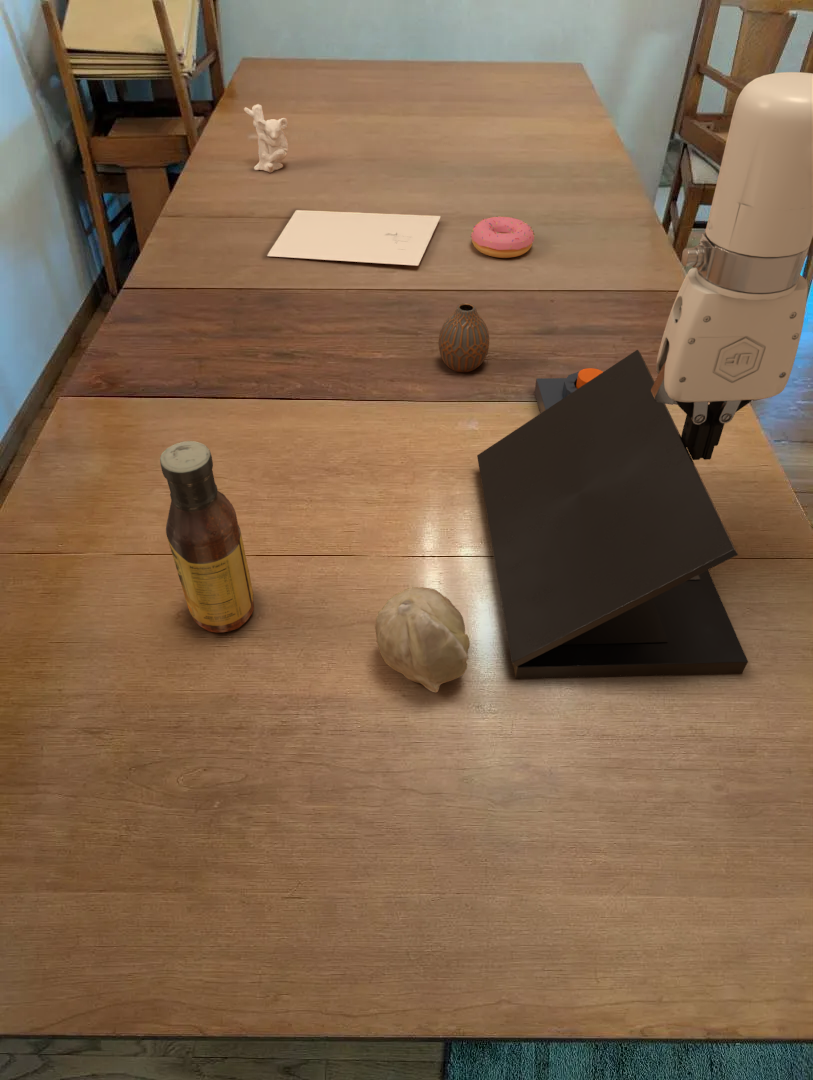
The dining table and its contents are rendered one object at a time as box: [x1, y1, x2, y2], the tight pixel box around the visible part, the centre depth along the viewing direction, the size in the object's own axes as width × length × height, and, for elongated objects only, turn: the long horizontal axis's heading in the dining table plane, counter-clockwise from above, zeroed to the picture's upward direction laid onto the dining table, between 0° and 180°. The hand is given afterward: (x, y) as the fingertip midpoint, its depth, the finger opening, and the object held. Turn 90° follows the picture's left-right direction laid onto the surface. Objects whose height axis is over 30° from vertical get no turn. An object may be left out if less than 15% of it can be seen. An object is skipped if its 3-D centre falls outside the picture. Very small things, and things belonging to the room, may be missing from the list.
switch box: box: [534, 370, 581, 414], centre depth 102 cm, size 12×9×4 cm
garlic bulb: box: [374, 586, 471, 693], centre depth 70 cm, size 9×8×10 cm
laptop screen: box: [476, 349, 739, 666], centre depth 77 cm, size 21×30×1 cm
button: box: [576, 367, 604, 389], centre depth 100 cm, size 4×4×2 cm
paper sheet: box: [266, 209, 442, 266], centre depth 141 cm, size 24×29×1 cm
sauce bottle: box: [159, 440, 255, 633], centre depth 70 cm, size 6×6×20 cm
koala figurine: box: [243, 103, 289, 173], centre depth 161 cm, size 8×7×12 cm
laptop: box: [512, 570, 749, 680], centre depth 83 cm, size 21×30×2 cm
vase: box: [438, 302, 490, 373], centre depth 108 cm, size 7×7×9 cm
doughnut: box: [470, 215, 535, 259], centre depth 137 cm, size 11×11×4 cm
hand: (696, 450), depth 74 cm, fingers closed
